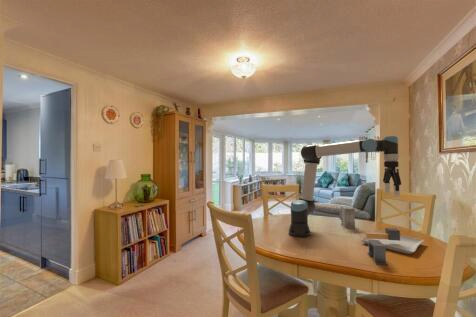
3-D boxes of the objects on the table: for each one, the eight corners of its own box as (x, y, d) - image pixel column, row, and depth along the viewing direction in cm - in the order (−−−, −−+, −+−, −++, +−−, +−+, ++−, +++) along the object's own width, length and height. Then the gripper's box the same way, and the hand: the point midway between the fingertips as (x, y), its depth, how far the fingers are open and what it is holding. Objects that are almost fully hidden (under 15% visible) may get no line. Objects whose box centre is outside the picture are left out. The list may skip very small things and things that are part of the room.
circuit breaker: (348, 223, 190) (347, 205, 190) (355, 227, 176) (354, 208, 176) (338, 222, 191) (338, 205, 191) (345, 227, 177) (344, 208, 177)
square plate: (375, 235, 161) (375, 229, 161) (424, 245, 140) (424, 239, 140) (360, 244, 143) (360, 238, 143) (414, 258, 122) (414, 251, 122)
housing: (376, 264, 114) (376, 247, 114) (367, 253, 127) (367, 238, 127) (387, 265, 113) (387, 247, 113) (377, 254, 126) (377, 238, 126)
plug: (368, 239, 142) (367, 229, 142) (365, 236, 147) (365, 227, 147) (402, 240, 138) (402, 230, 138) (398, 238, 143) (398, 228, 143)
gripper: (407, 160, 129) (408, 198, 129) (389, 160, 153) (390, 192, 153) (393, 160, 131) (393, 197, 130) (377, 160, 155) (377, 191, 155)
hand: (391, 194), depth 142 cm, fingers open, 13 cm apart
